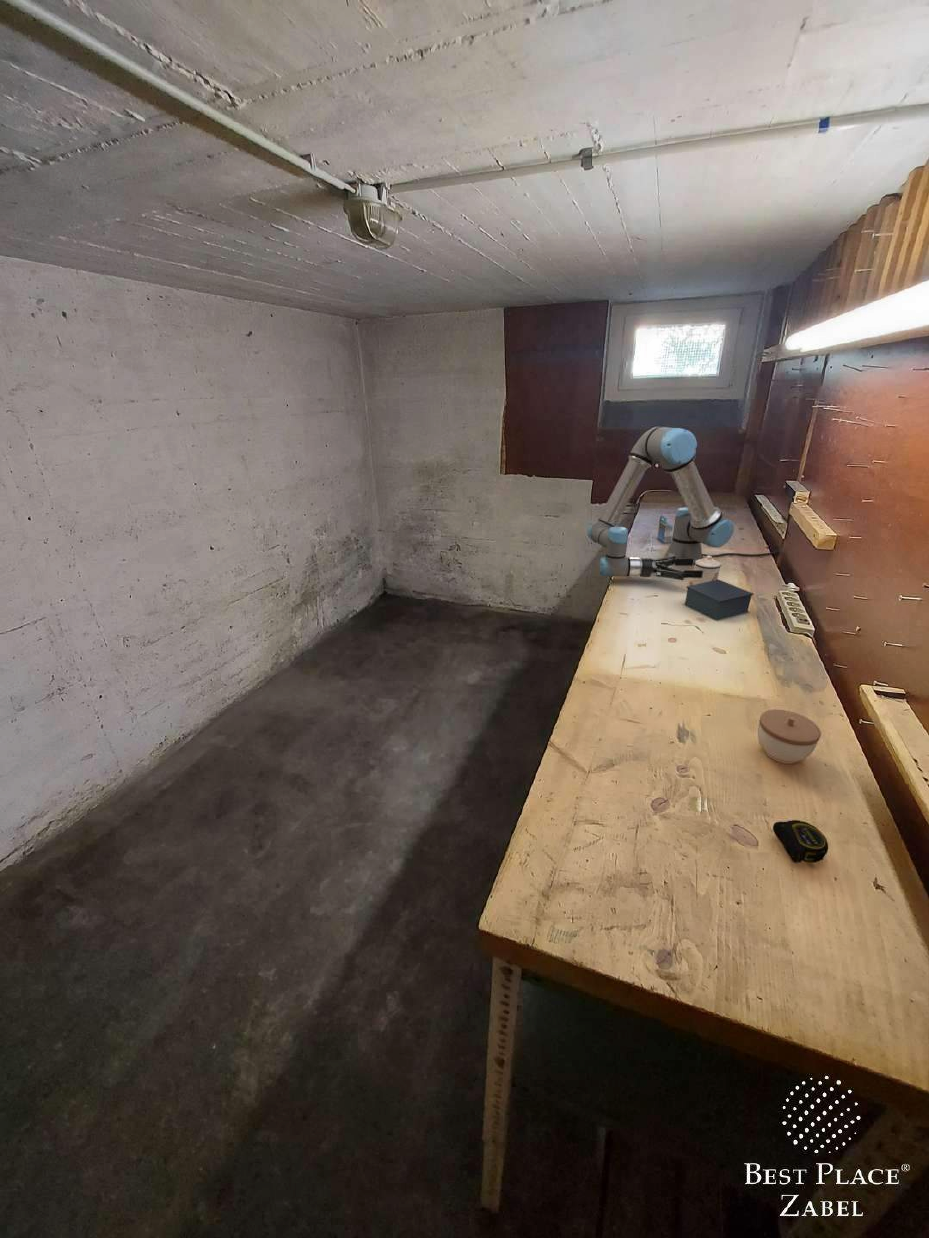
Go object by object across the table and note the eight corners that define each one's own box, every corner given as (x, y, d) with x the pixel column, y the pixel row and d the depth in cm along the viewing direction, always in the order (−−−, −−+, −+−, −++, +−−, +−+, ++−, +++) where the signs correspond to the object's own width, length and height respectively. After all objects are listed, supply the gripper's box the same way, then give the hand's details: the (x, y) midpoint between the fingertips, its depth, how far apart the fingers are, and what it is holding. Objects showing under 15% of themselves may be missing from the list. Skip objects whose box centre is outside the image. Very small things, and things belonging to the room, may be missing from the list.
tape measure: (768, 832, 86) (773, 816, 84) (809, 833, 85) (815, 818, 83) (788, 866, 80) (794, 850, 78) (832, 868, 79) (839, 852, 77)
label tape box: (671, 542, 237) (674, 518, 231) (662, 543, 237) (666, 518, 232) (664, 537, 245) (668, 513, 239) (656, 538, 245) (659, 514, 240)
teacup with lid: (715, 590, 182) (721, 561, 177) (689, 586, 187) (694, 558, 181) (718, 580, 191) (724, 552, 186) (694, 576, 196) (698, 549, 191)
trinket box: (741, 739, 108) (750, 705, 104) (787, 735, 108) (798, 700, 104) (773, 773, 98) (784, 737, 94) (823, 769, 99) (836, 732, 95)
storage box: (714, 597, 177) (718, 579, 174) (749, 612, 165) (753, 593, 162) (683, 604, 172) (686, 586, 169) (716, 620, 160) (720, 601, 157)
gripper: (634, 565, 203) (687, 566, 199) (644, 588, 181) (704, 589, 177) (636, 548, 199) (690, 548, 196) (646, 569, 177) (708, 570, 174)
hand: (697, 568), depth 187 cm, fingers open, 13 cm apart
